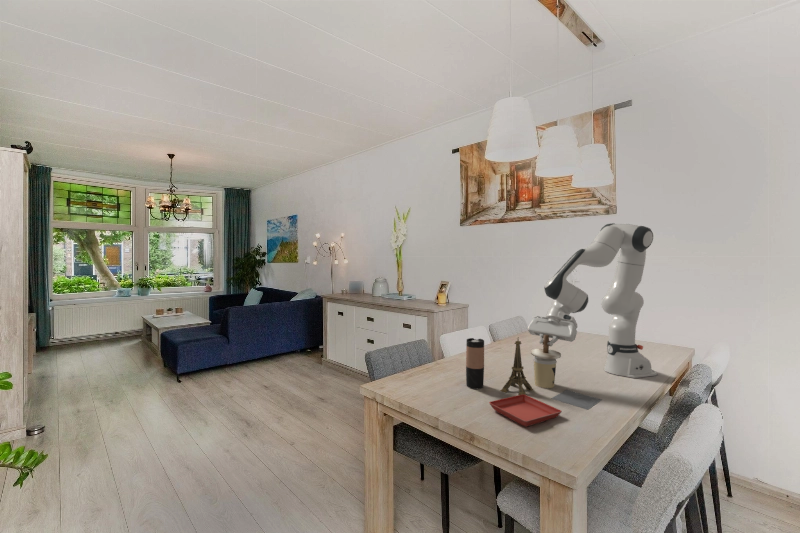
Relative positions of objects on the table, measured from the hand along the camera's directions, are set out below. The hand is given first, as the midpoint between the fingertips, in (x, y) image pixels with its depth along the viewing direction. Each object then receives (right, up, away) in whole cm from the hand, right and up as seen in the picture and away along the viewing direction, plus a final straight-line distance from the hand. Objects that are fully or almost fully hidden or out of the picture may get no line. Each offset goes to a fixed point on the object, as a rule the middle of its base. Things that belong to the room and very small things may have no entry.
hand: (545, 344), depth 162 cm
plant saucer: (-18, -20, -26) cm, 38 cm away
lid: (0, -4, +1) cm, 5 cm away
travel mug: (-30, -18, +1) cm, 35 cm away
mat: (+7, -19, -14) cm, 24 cm away
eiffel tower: (-13, -19, -4) cm, 23 cm away
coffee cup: (0, -18, +2) cm, 18 cm away
